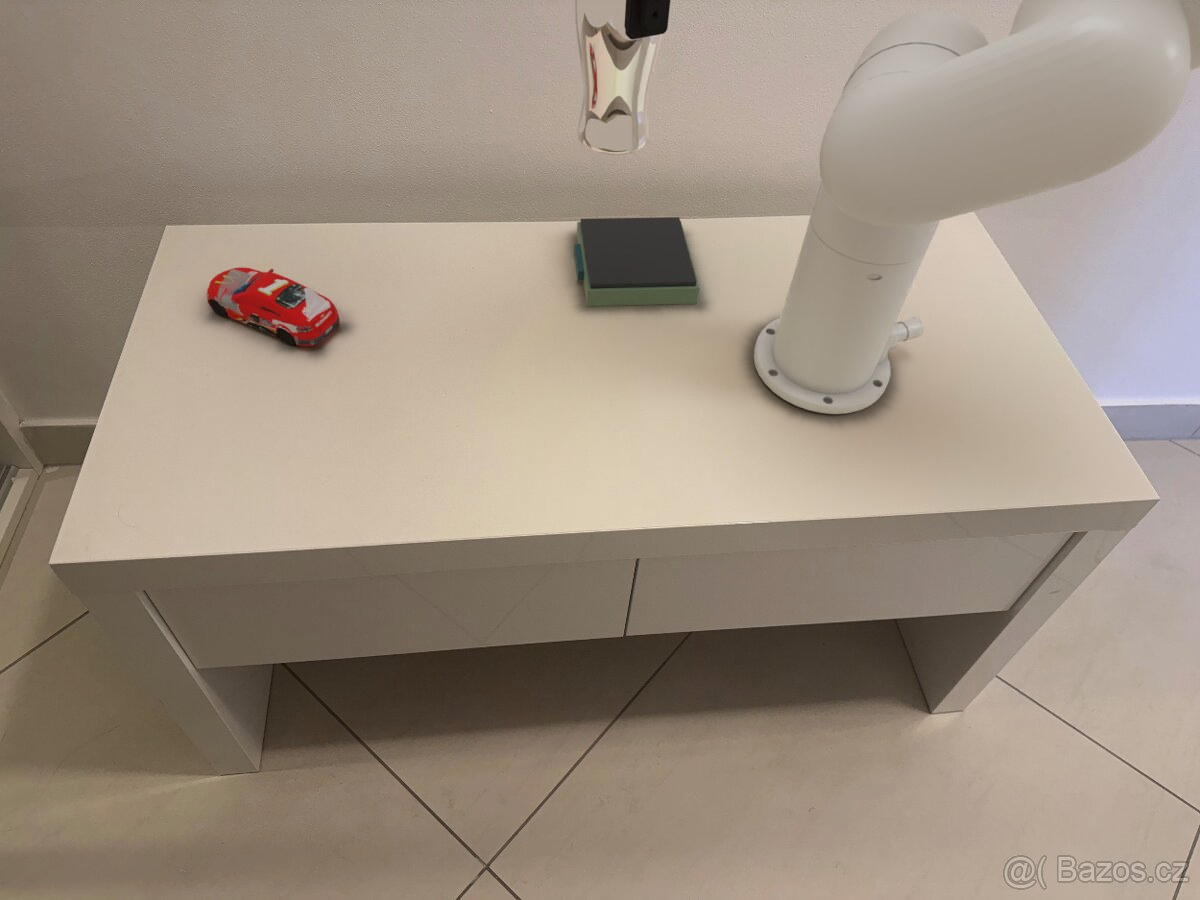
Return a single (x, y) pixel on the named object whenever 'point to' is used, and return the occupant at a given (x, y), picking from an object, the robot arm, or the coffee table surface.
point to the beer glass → (613, 78)
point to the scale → (634, 262)
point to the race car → (273, 305)
